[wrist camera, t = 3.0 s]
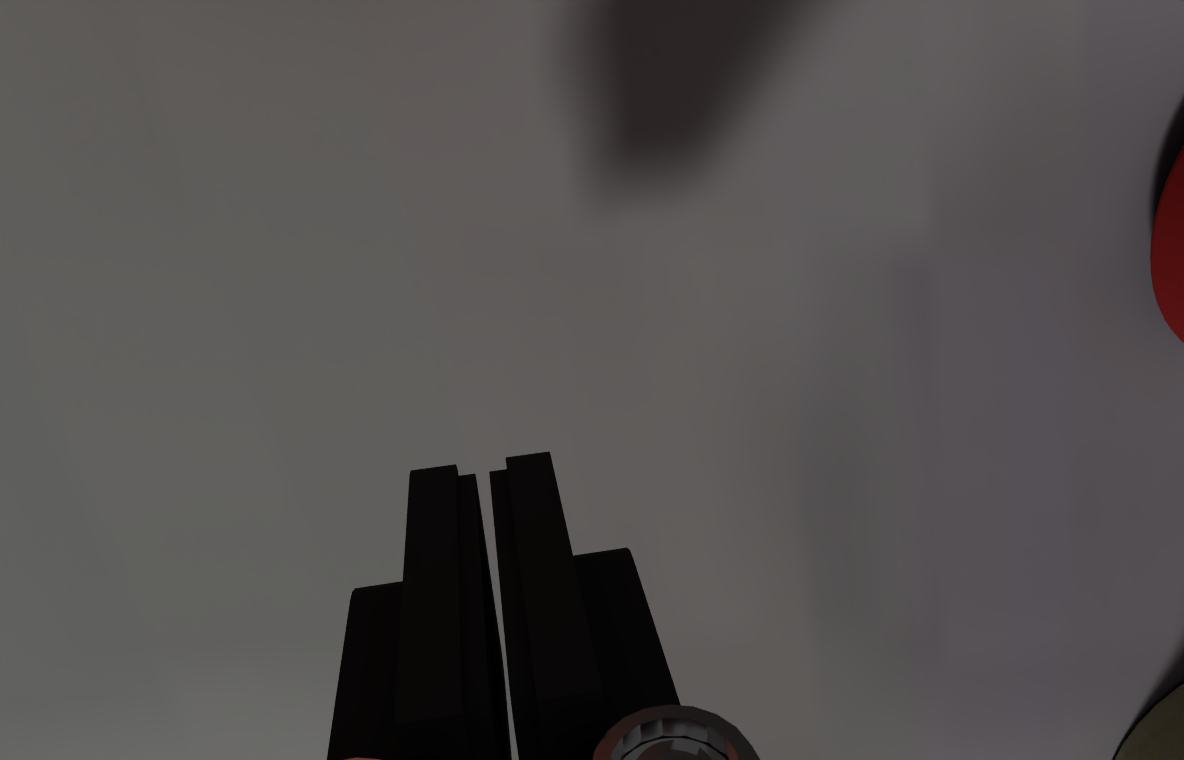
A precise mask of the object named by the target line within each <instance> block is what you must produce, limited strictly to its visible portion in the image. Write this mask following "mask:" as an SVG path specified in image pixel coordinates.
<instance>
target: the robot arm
mask: <svg viewBox="0 0 1184 760" xmlns="http://www.w3.org/2000/svg"><path fill="white" fill-rule="evenodd" d="M506 465H507V469H505V470H498V471H491V472H489V473H490V484H491V495H492V506H493V517H494V527H495V538H496V549H497V559H498V570H499V581H500V592H501V602H502V613H503V624H504V634H505V645H506V656H507V667H508V677H509V687H510V696H511V705H512V713H513V721H514V728H515V735H516V742H517V749H518V756H519V760H760V758H759V757H758V755H757V753H756V752H755V750H754V748H753V747H752V745H751V744H750V743H749V741H748V740H747V739H746V738H745V737H744V736H743V734H742V733H741V732H740V731H739V730H738V728H737V727H735V726H734V725H732V724H731V723H729V722H728V721H726V720H725V719H723V718H722V717H720V716H719V715H717V714H715V713H712V712H709V711H706V710H703V709H699V708H696V707H693V706H681V705H680V702H679V699H678V696H677V693H676V689H675V686H674V683H673V680H672V677H671V674H670V671H669V668H668V665H667V662H666V659H665V656H664V652H663V649H662V646H661V643H660V640H659V637H658V634H657V631H656V628H655V625H654V622H653V618H652V615H651V612H650V609H649V606H648V603H647V600H646V597H645V594H644V591H643V588H642V585H641V581H640V578H639V575H638V572H637V569H636V566H635V563H634V560H633V557H632V554H631V552H630V550H629V549H628V548H621V549H615V550H608V551H601V552H595V553H588V554H581V555H575V556H573V554H572V549H571V545H570V540H569V536H568V531H567V527H566V522H565V518H564V513H563V509H562V504H561V500H560V495H559V491H558V486H557V482H556V477H555V473H554V468H553V464H552V459H551V455H550V452H543V453H535V454H528V455H521V456H513V457H506ZM327 760H512V757H511V746H510V734H509V723H508V712H507V700H506V689H505V677H504V668H503V659H502V651H501V644H500V637H499V630H498V623H497V617H496V610H495V603H494V596H493V589H492V583H491V576H490V569H489V562H488V555H487V549H486V542H485V535H484V528H483V521H482V515H481V508H480V501H479V494H478V487H477V481H476V475H475V474H469V475H462V476H459V475H458V470H457V466H456V464H455V465H448V466H440V467H433V468H426V469H418V470H411V471H410V478H409V494H408V509H407V525H406V540H405V555H404V571H403V581H401V582H395V583H388V584H381V585H375V586H368V587H361V588H355V589H354V590H353V592H352V595H351V599H350V605H349V612H348V619H347V626H346V632H345V639H344V646H343V653H342V660H341V666H340V673H339V680H338V687H337V694H336V701H335V707H334V714H333V721H332V728H331V735H330V742H329V748H328V755H327Z"/></svg>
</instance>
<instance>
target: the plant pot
mask: <svg viewBox="0 0 1184 760" xmlns="http://www.w3.org/2000/svg"><path fill="white" fill-rule="evenodd" d="M1115 760H1184V683H1183V684H1182V685H1180V686H1179V687H1178V688H1176V689H1175V690H1174V691H1173V692H1171V693H1170V694H1169V695H1168V696H1166V697H1165V698H1164V699H1163V700H1161V701H1160V702H1159V703H1158V704H1157V705H1155V706H1154V707H1153V708H1152V710H1151V711H1150V712H1149V713H1148V714H1147V715H1146V716H1145V717H1144V718H1143V719H1142V720H1141V721H1140V722H1139V723H1138V724H1137V726H1136V727H1135V728H1134V730H1133V731H1132V732H1131V734H1130V735H1129V736H1128V738H1127V739H1126V740H1125V742H1124V743H1123V745H1122V747H1121V749H1120V750H1119V752H1118V754H1117V756H1116V758H1115Z"/></svg>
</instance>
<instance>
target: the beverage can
mask: <svg viewBox="0 0 1184 760" xmlns="http://www.w3.org/2000/svg"><path fill="white" fill-rule="evenodd" d="M1150 260H1151V276H1152V283H1153V289H1154V293H1155V297H1156V300H1157V303H1158V306H1159V308H1160V311H1161V313H1162V315H1163V317H1164V319H1165V320H1166V322H1167V324H1168V325H1169V327H1170V328H1171V329H1172V331H1173V332H1174V333H1175V334H1176V335H1177V336H1178V338H1179V339H1180V340H1181V341H1182V342H1184V145H1183V147H1182V149H1181V151H1180V153H1179V155H1178V157H1177V158H1176V160H1175V162H1174V164H1173V166H1172V169H1171V171H1170V173H1169V176H1168V178H1167V180H1166V183H1165V186H1164V189H1163V191H1162V194H1161V197H1160V201H1159V204H1158V208H1157V211H1156V215H1155V220H1154V225H1153V231H1152V239H1151V255H1150Z"/></svg>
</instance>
